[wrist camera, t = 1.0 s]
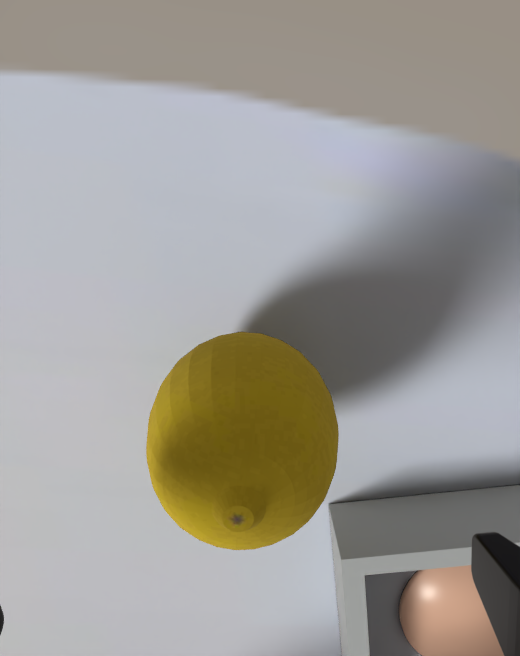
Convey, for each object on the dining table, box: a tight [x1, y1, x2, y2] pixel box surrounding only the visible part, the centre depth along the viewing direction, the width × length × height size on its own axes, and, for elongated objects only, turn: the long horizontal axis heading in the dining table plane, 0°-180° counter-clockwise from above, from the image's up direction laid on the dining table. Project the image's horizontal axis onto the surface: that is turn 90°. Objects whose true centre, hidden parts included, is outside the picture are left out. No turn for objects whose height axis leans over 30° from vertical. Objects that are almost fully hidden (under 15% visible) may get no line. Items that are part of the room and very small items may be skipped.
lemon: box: [147, 332, 338, 550], centre depth 13 cm, size 6×6×8 cm
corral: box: [329, 485, 520, 656], centre depth 19 cm, size 13×13×3 cm
